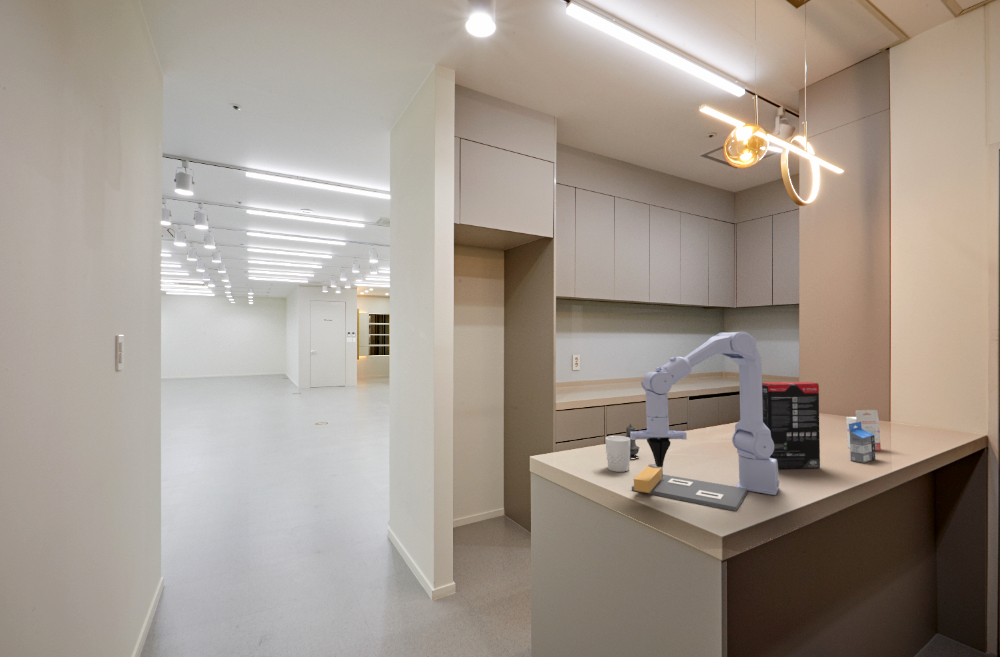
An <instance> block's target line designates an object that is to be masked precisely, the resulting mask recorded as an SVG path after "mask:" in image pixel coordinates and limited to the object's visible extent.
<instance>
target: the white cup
mask: <svg viewBox="0 0 1000 657" xmlns="http://www.w3.org/2000/svg"><path fill="white" fill-rule="evenodd" d="M625 436H626V435H625ZM625 436H624V435H609V436H606V437H605V438H604V439H605V452H606V460H607V469H608V470H609V471H612V472H615V473H616V472H617V473H625V471H626V472H628V470H630V462H631V459H630V438H629V437H625Z"/></svg>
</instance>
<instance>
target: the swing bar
mask: <svg viewBox="0 0 1000 657" xmlns="http://www.w3.org/2000/svg"><path fill="white" fill-rule="evenodd" d="M663 468H664V466H663V467H657V466H656V464H655V463H651V464H648V465H647V466H646V467H644V469H643V470H642V471H640V472H639V473H638V474H637V475H636V476H635V477H634V478H633V485H634V490H636V491H635V492H638V491H641V492H640V493H643V492H647V493H646V494H648V493H650V492H651V490H652V489H653V488H654V487H655V486H656V485H657V483H658V482H659V481H660V480H661V479H662V478H663V474H664V473H663V472H664V471H663Z"/></svg>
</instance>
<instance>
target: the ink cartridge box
mask: <svg viewBox="0 0 1000 657" xmlns="http://www.w3.org/2000/svg"><path fill="white" fill-rule="evenodd" d="M866 413H867V415H866ZM864 414H865V415H864ZM845 421H846V434H847V435H846V436H847V437H846V438H847V448H848V449H850V430H849V424H852V423H856V422H860V421H861V427H862V429H863V430H865V431H867V432H869V433H871V434H873V435H874V436H875V452H876V451H882V450H881V449H882V447H881V446H882V445H881V431H880V418H879V412H878V410H877V409H864V410H863V409H861V410H858V409H857V410H855V416H846V417H845ZM854 428H857V426H856V425H855V426H854Z"/></svg>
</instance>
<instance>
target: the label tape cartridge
mask: <svg viewBox="0 0 1000 657" xmlns="http://www.w3.org/2000/svg"><path fill="white" fill-rule="evenodd" d="M855 425H856V426H857V428H854V426H855ZM849 430H850V448H849V450H850V451H849V452H850V454H849V455H850V461H851V462H856V463H860V464H865V463H869V462H871V461H874V460H876V459H877V458H876V451H875V436H874V435H873V434H871V433H869V432H867V431H865V430H863V429H862V427H861V421H860V422H856V423H852V424H849Z"/></svg>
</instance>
